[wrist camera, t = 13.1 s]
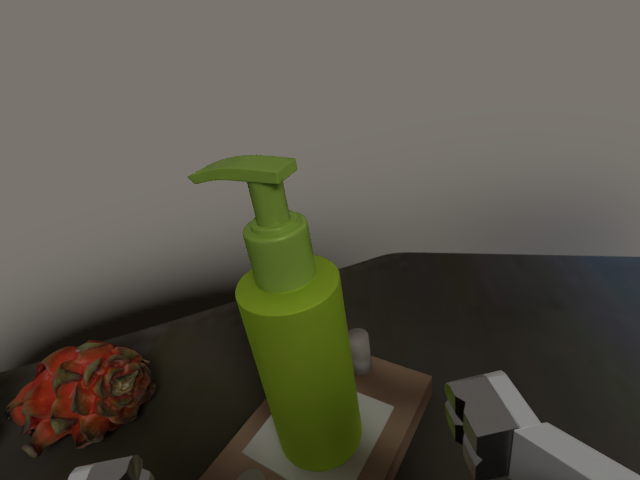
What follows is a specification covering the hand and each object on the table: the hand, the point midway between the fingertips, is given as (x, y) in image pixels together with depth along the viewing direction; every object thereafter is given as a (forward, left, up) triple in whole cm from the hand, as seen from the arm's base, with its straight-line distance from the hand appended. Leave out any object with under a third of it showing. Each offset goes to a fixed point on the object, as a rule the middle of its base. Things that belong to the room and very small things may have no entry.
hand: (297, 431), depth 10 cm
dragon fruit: (-2, -27, -19) cm, 33 cm away
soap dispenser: (-9, -8, -16) cm, 20 cm away
